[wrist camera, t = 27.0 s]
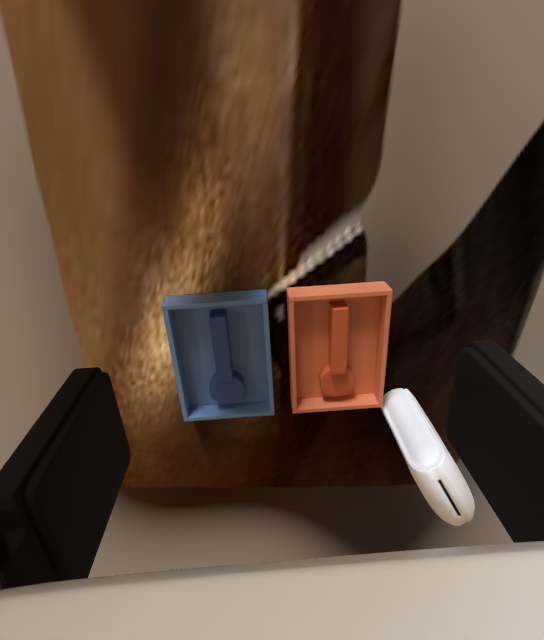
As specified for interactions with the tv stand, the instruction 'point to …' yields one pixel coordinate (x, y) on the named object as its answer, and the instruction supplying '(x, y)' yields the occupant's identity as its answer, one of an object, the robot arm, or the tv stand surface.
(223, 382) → the blue spoon
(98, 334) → the tv stand surface
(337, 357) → the terracotta spoon
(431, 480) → the photo printer
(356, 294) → the terracotta tray
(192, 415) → the blue tray
